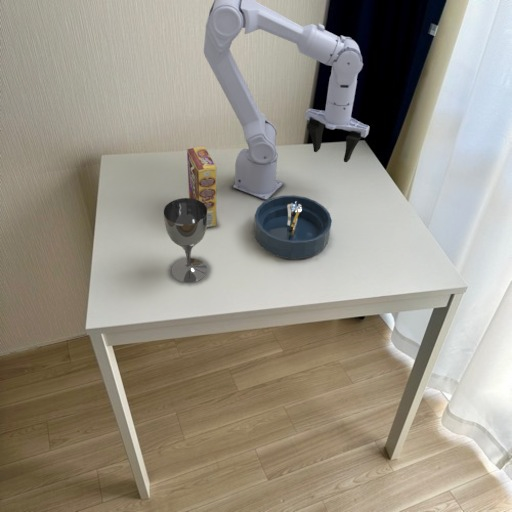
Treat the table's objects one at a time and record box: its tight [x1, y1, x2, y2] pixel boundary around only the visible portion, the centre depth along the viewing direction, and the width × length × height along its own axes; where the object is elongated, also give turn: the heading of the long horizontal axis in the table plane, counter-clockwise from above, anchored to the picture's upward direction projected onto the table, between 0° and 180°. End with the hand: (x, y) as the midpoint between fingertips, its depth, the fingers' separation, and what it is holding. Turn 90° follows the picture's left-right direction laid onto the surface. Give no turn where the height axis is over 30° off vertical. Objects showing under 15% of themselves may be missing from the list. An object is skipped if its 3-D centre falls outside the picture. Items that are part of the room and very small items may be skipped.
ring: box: [287, 201, 302, 237], centre depth 111 cm, size 7×3×8 cm, turn 160°
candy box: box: [186, 146, 217, 228], centre depth 113 cm, size 9×4×15 cm, turn 20°
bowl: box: [253, 194, 333, 260], centre depth 112 cm, size 16×16×5 cm
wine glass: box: [162, 197, 208, 284], centre depth 100 cm, size 8×8×15 cm
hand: (331, 155), depth 121 cm, fingers open, 7 cm apart
